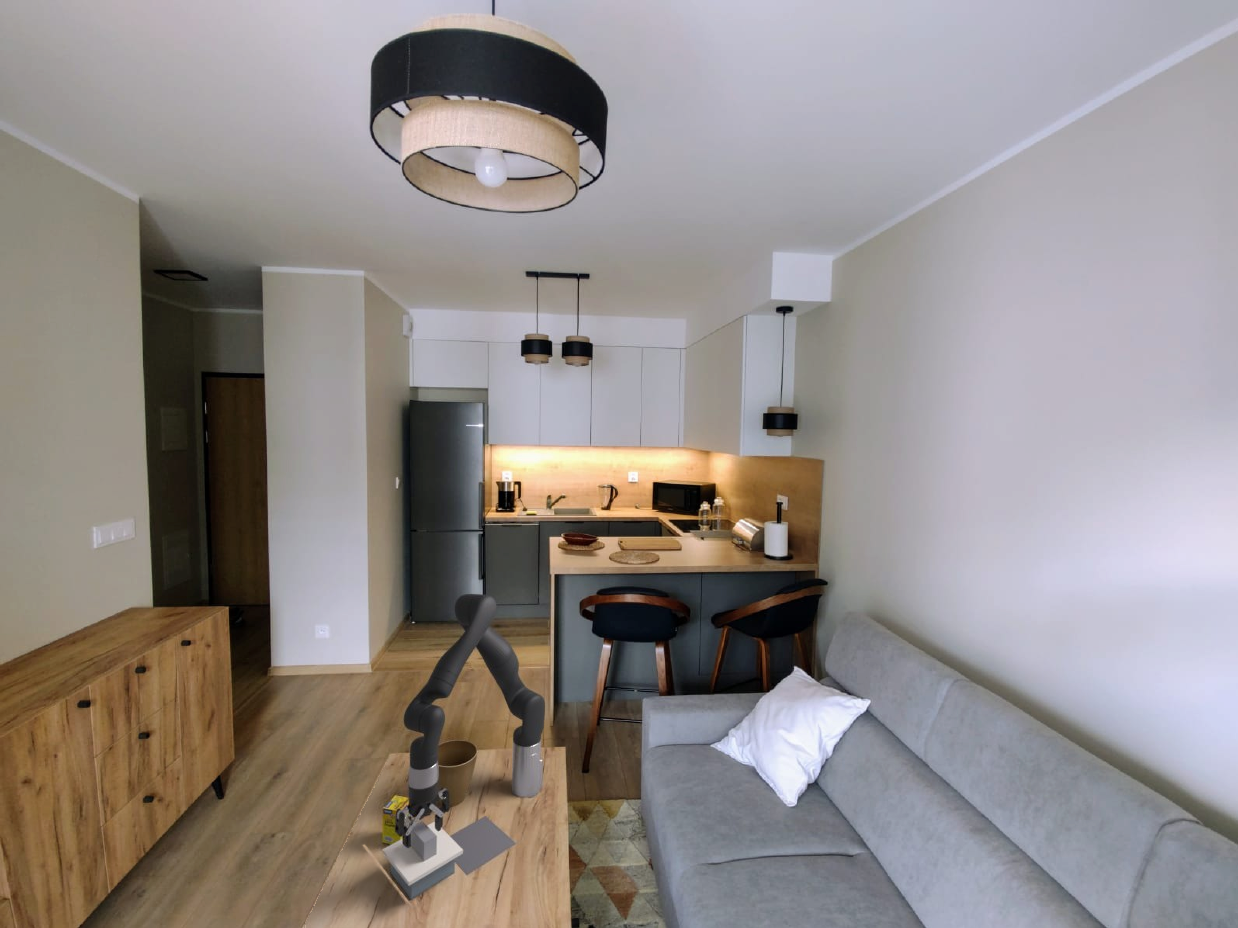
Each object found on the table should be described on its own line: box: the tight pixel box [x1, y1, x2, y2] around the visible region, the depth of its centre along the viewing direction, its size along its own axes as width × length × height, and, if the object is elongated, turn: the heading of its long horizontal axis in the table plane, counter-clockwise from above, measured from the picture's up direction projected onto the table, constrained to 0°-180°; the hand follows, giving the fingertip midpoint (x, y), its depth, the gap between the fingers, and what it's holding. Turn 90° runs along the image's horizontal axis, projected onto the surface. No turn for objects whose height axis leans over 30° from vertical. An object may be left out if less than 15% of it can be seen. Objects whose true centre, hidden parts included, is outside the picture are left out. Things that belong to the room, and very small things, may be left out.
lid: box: [382, 820, 463, 886], centre depth 145 cm, size 15×15×6 cm
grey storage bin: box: [389, 859, 456, 900], centre depth 145 cm, size 12×12×6 cm
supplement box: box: [381, 794, 409, 846], centre depth 157 cm, size 6×6×11 cm
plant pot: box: [438, 739, 479, 808], centre depth 174 cm, size 15×15×16 cm
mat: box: [449, 815, 517, 876], centre depth 156 cm, size 16×16×1 cm
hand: (422, 837), depth 144 cm, fingers open, 8 cm apart
